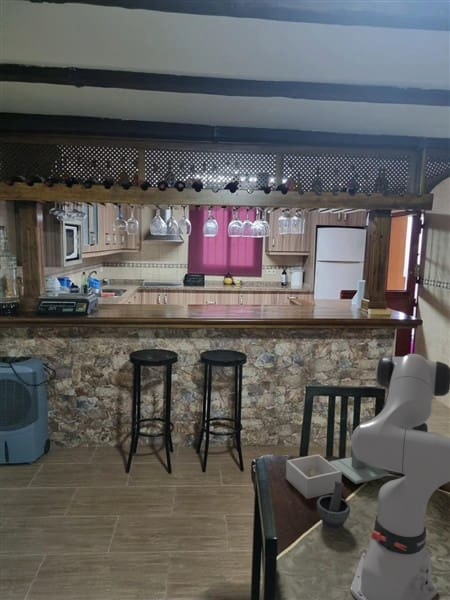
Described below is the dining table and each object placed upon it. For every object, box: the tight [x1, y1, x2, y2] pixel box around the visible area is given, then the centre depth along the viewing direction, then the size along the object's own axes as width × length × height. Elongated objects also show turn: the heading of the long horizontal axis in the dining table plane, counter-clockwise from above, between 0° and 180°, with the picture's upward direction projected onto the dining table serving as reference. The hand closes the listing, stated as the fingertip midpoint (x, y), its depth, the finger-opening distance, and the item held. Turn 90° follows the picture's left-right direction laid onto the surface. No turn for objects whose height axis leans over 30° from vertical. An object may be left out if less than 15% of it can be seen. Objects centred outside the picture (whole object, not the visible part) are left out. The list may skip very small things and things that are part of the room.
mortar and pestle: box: [316, 481, 351, 533], centre depth 128 cm, size 11×9×12 cm
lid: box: [329, 449, 390, 485], centre depth 156 cm, size 15×15×12 cm
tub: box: [285, 453, 343, 500], centre depth 151 cm, size 14×14×7 cm
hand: (357, 451), depth 155 cm, fingers closed on lid, 3 cm apart
